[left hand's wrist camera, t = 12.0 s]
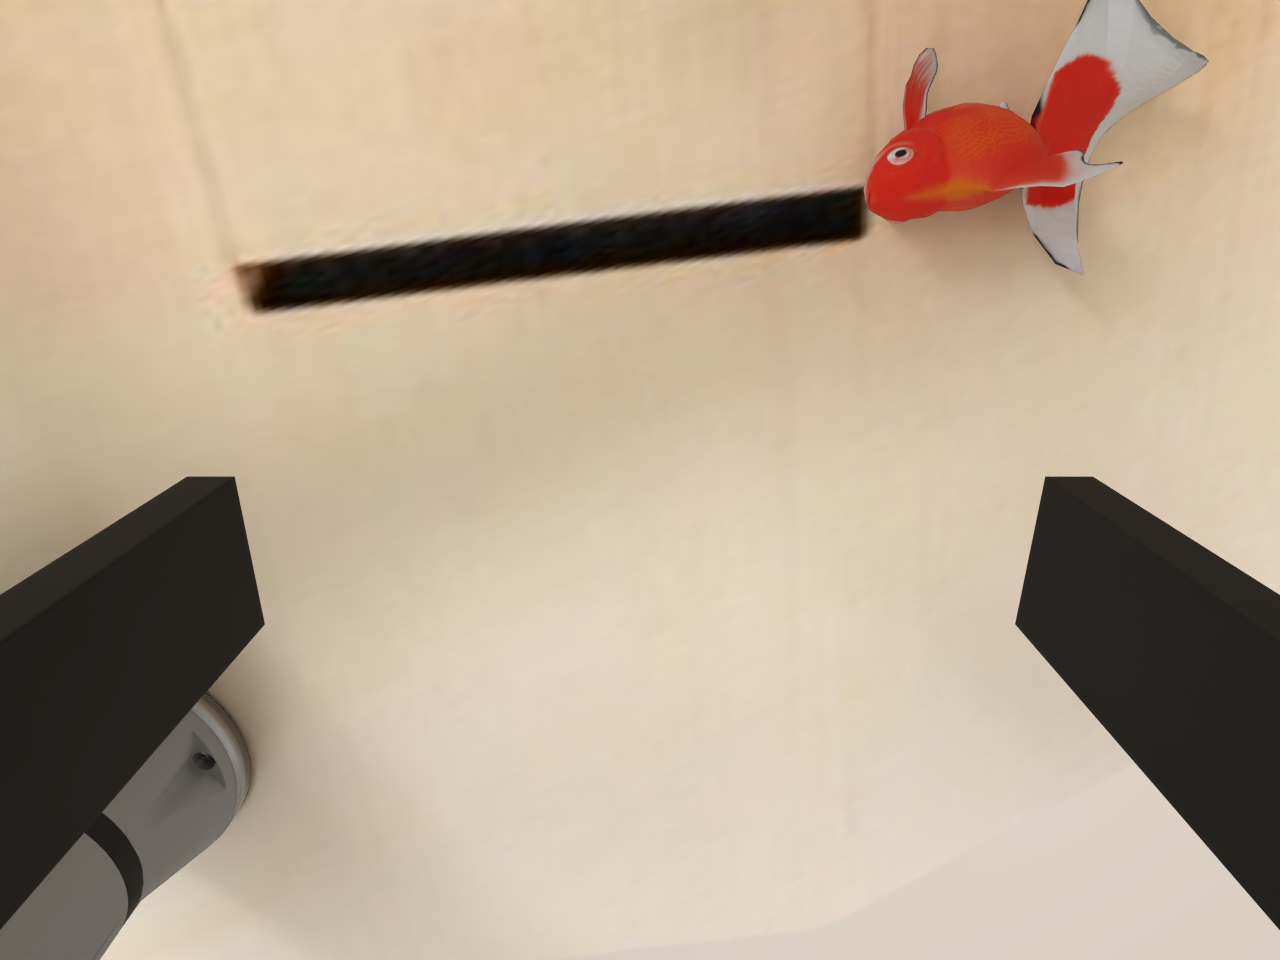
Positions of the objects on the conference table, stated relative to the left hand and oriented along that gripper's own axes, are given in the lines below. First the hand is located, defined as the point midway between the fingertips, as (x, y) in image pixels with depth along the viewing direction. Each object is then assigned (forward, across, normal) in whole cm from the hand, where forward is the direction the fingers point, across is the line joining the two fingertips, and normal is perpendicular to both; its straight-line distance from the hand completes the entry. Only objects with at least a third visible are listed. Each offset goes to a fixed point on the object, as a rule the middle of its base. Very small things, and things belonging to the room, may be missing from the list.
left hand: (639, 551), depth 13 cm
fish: (+29, -17, -8) cm, 34 cm away
